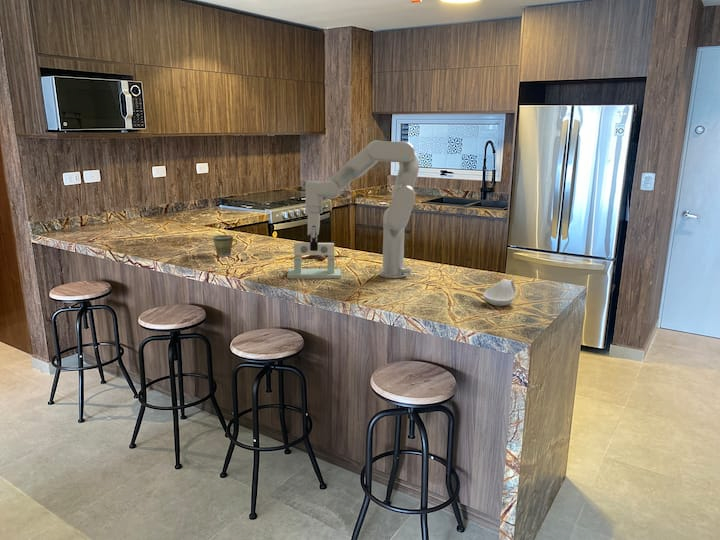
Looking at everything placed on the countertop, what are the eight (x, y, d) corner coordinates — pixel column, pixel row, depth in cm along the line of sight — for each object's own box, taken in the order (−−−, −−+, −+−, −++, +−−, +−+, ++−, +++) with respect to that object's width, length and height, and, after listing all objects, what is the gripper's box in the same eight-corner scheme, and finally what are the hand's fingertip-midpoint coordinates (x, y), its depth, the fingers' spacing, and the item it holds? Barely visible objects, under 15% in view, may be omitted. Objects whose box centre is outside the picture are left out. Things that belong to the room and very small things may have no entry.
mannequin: (354, 252, 299) (354, 244, 298) (340, 264, 272) (340, 255, 271) (308, 250, 305) (308, 242, 304) (290, 261, 278) (289, 252, 277)
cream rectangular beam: (334, 253, 249) (334, 242, 248) (334, 255, 246) (334, 244, 244) (294, 253, 248) (294, 242, 247) (293, 254, 245) (293, 244, 243)
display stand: (340, 271, 256) (340, 252, 254) (341, 278, 244) (341, 258, 242) (289, 271, 255) (288, 252, 252) (287, 278, 243) (286, 258, 241)
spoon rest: (509, 310, 205) (511, 292, 203) (479, 305, 210) (480, 288, 208) (522, 294, 225) (524, 277, 223) (494, 290, 230) (495, 274, 228)
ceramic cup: (210, 256, 282) (209, 237, 279) (220, 252, 291) (219, 234, 288) (232, 258, 278) (231, 239, 275) (242, 254, 287) (241, 236, 285)
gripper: (306, 206, 250) (306, 245, 254) (304, 211, 234) (304, 253, 238) (322, 206, 250) (322, 246, 255) (322, 212, 234) (322, 253, 239)
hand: (314, 249), depth 246 cm, fingers closed on cream rectangular beam, 3 cm apart
